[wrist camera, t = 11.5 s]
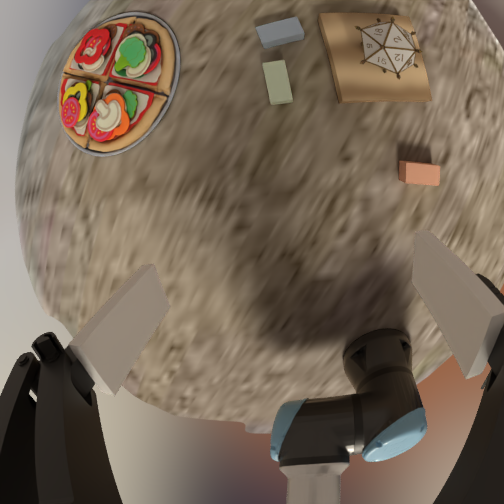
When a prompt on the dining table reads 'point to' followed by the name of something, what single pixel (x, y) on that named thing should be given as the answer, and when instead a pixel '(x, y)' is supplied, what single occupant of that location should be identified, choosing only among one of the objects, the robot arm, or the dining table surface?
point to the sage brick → (277, 82)
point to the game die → (388, 46)
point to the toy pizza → (118, 83)
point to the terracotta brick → (419, 173)
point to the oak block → (368, 75)
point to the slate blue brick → (280, 32)
